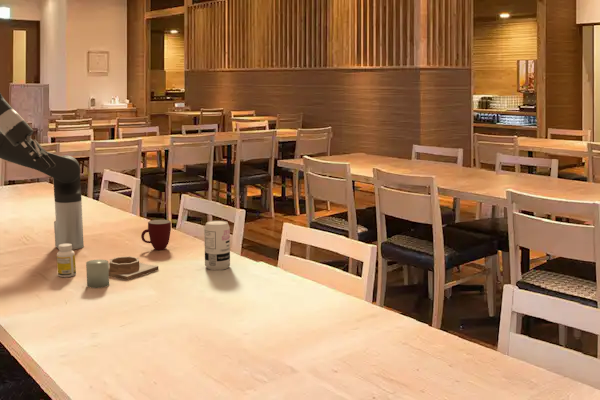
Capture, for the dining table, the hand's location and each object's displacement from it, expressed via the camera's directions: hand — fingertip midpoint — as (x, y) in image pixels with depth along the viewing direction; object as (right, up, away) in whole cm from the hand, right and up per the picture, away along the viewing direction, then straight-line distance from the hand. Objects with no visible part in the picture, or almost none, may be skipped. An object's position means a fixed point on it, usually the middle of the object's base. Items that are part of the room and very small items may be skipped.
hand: (50, 167), depth 218 cm
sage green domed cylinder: (+16, -35, -6) cm, 40 cm away
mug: (+25, -28, +37) cm, 53 cm away
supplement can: (+50, -32, +14) cm, 61 cm away
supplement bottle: (+4, -34, +4) cm, 34 cm away
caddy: (+21, -33, +9) cm, 40 cm away
